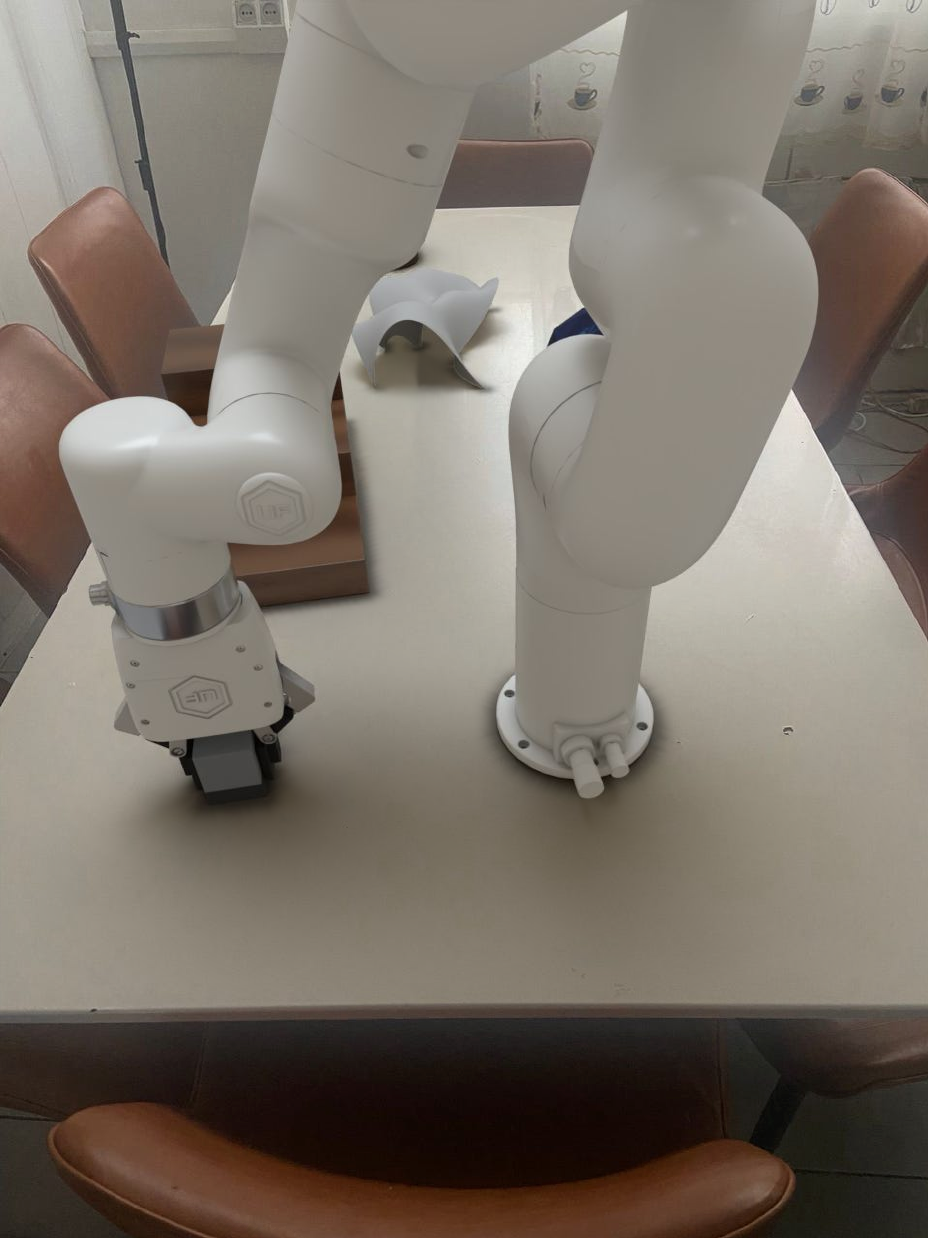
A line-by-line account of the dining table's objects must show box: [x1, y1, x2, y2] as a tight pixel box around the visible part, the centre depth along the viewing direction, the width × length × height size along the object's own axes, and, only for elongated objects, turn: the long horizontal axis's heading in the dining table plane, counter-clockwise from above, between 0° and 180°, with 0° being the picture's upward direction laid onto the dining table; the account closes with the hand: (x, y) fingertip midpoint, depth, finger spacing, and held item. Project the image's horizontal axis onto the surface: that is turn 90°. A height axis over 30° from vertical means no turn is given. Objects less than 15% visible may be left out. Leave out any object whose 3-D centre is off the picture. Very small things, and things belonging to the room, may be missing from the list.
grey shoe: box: [192, 729, 268, 806], centre depth 69 cm, size 8×4×6 cm, turn 9°
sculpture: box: [351, 267, 500, 390], centre depth 122 cm, size 25×19×10 cm
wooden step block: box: [160, 323, 370, 608], centre depth 92 cm, size 33×18×14 cm, turn 9°
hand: (236, 769), depth 69 cm, fingers closed on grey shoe, 4 cm apart
